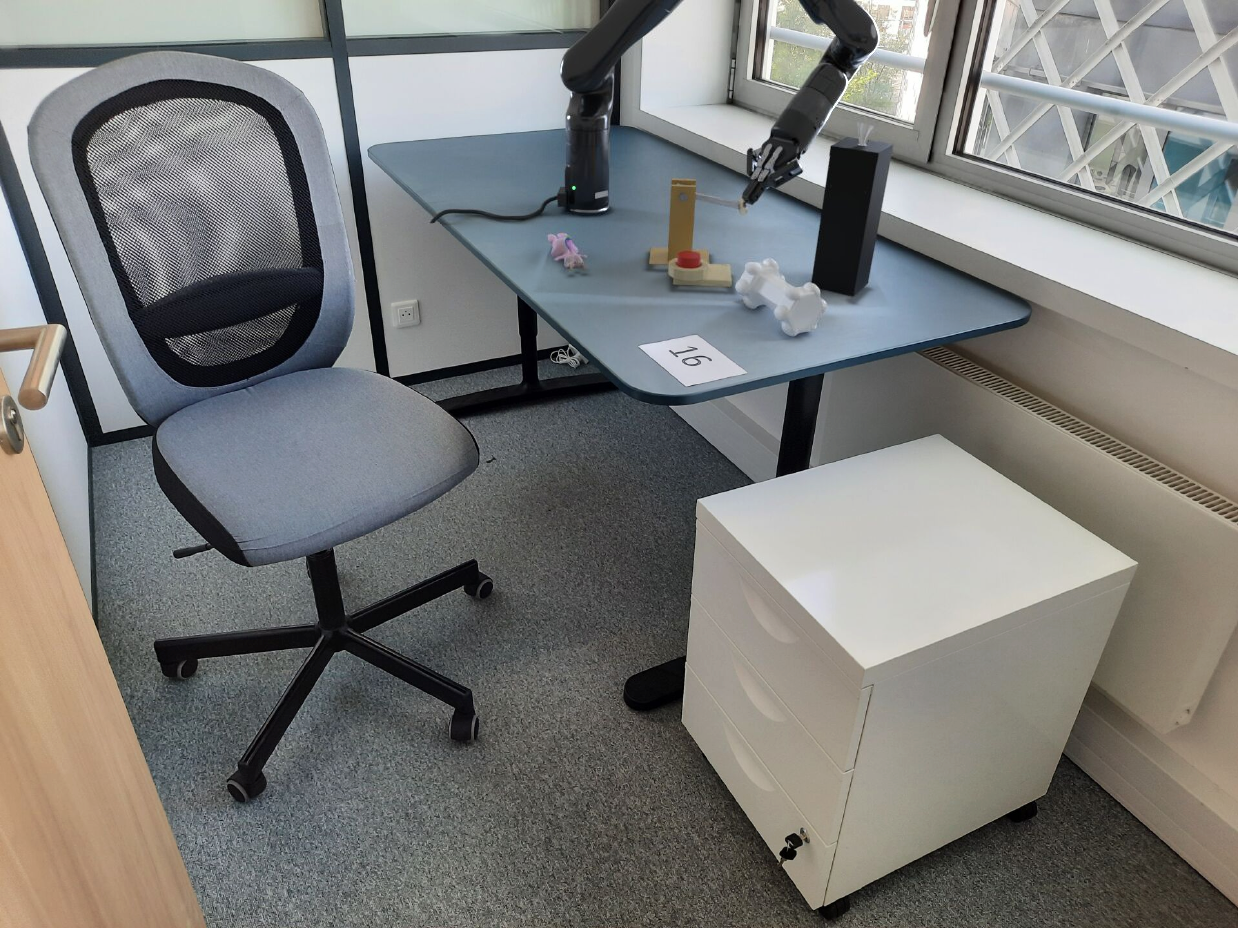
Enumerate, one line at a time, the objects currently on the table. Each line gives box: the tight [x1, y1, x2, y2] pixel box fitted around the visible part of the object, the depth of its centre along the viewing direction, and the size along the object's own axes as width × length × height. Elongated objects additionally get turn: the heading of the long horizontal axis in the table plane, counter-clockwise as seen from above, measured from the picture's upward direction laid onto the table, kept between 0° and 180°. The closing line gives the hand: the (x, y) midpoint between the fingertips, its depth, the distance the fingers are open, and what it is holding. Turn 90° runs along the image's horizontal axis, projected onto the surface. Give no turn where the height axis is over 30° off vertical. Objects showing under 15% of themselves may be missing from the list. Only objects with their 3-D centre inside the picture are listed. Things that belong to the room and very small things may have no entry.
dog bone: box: [735, 257, 828, 337], centre depth 141 cm, size 15×9×8 cm, turn 24°
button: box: [677, 251, 701, 269], centre depth 152 cm, size 4×4×2 cm
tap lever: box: [677, 183, 748, 216], centre depth 158 cm, size 13×6×2 cm, turn 87°
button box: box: [667, 258, 733, 288], centre depth 154 cm, size 11×9×4 cm
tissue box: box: [810, 121, 895, 297], centre depth 146 cm, size 8×8×28 cm
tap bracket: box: [648, 178, 710, 266], centre depth 160 cm, size 11×9×15 cm
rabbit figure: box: [547, 232, 588, 272], centre depth 162 cm, size 6×6×15 cm
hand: (746, 201), depth 158 cm, fingers closed
